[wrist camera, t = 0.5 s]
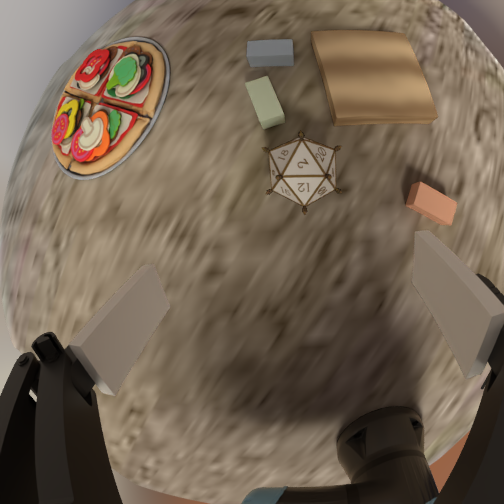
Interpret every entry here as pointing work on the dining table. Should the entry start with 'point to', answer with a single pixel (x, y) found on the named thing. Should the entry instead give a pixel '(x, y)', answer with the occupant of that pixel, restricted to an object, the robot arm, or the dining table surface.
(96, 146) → the toy pizza
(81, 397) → the robot arm
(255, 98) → the sage brick
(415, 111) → the oak block
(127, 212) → the dining table surface
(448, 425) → the dining table surface
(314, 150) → the game die
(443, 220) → the terracotta brick
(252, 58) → the slate blue brick
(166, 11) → the dining table surface
